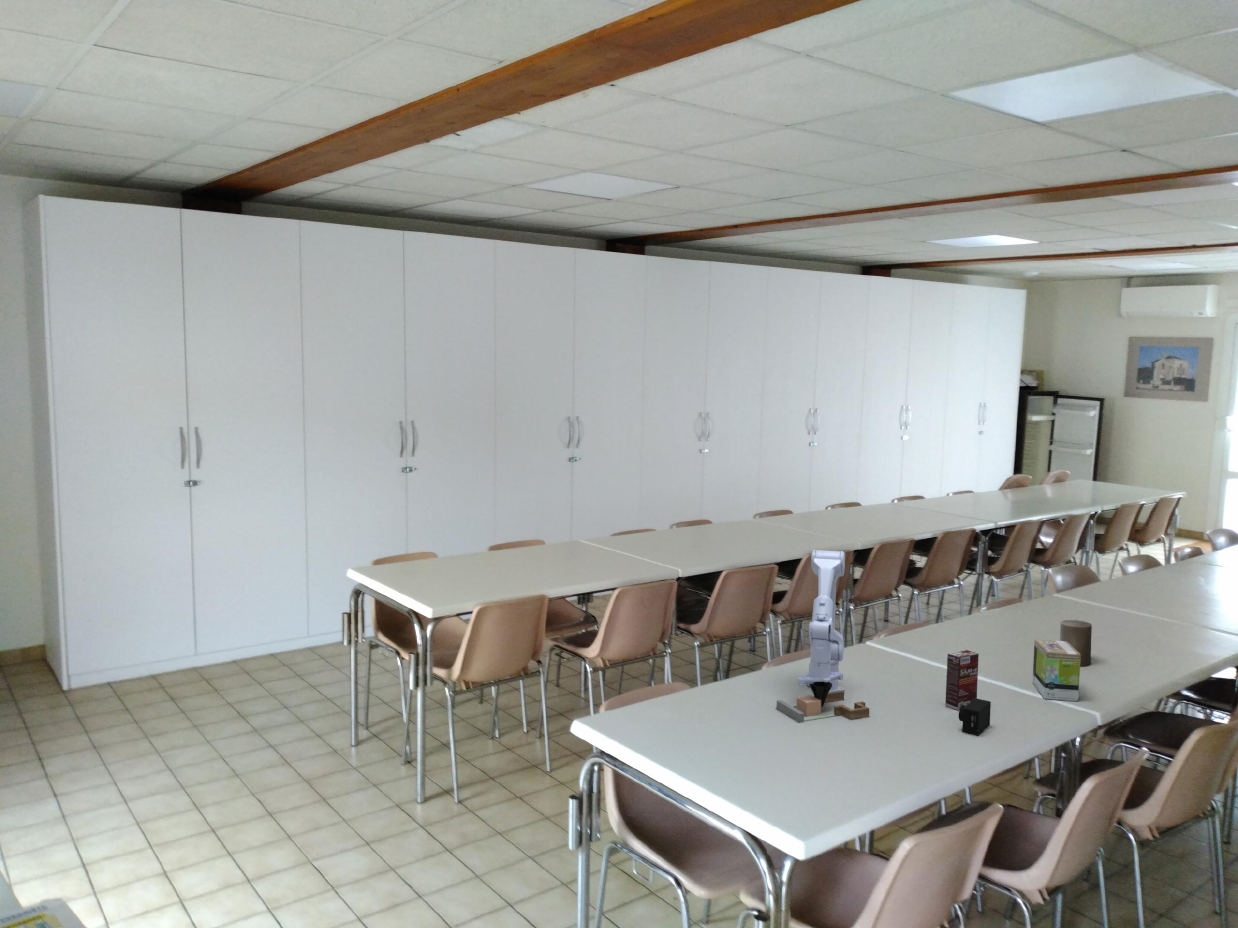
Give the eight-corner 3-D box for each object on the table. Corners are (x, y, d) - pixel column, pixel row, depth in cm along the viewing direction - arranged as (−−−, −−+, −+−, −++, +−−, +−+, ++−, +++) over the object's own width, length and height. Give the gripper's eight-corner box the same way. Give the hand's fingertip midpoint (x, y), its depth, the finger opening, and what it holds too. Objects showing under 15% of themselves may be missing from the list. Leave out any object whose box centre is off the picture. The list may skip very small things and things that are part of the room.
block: (796, 710, 264) (796, 697, 264) (810, 708, 266) (810, 694, 266) (806, 716, 259) (806, 702, 259) (820, 713, 261) (821, 700, 261)
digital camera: (970, 720, 256) (970, 696, 255) (990, 725, 253) (990, 700, 252) (957, 731, 248) (958, 706, 247) (978, 736, 244) (978, 711, 244)
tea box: (1079, 701, 270) (1081, 653, 269) (1043, 699, 272) (1045, 651, 271) (1065, 685, 285) (1067, 639, 284) (1031, 683, 287) (1033, 638, 286)
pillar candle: (1096, 666, 304) (1097, 622, 303) (1066, 666, 304) (1068, 622, 303) (1081, 658, 314) (1083, 615, 312) (1053, 658, 314) (1055, 615, 313)
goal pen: (776, 708, 266) (776, 700, 266) (811, 702, 270) (811, 694, 270) (799, 722, 255) (799, 713, 254) (835, 716, 259) (835, 707, 259)
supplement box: (958, 710, 263) (959, 657, 262) (944, 705, 268) (946, 653, 266) (977, 705, 268) (979, 653, 266) (964, 700, 272) (966, 649, 270)
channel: (813, 702, 270) (813, 694, 270) (841, 698, 274) (841, 690, 274) (845, 720, 256) (845, 712, 256) (874, 715, 260) (874, 707, 259)
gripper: (807, 667, 257) (806, 714, 258) (849, 661, 262) (848, 707, 263) (793, 660, 263) (792, 705, 264) (835, 654, 269) (834, 699, 270)
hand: (819, 706), depth 264 cm, fingers closed
